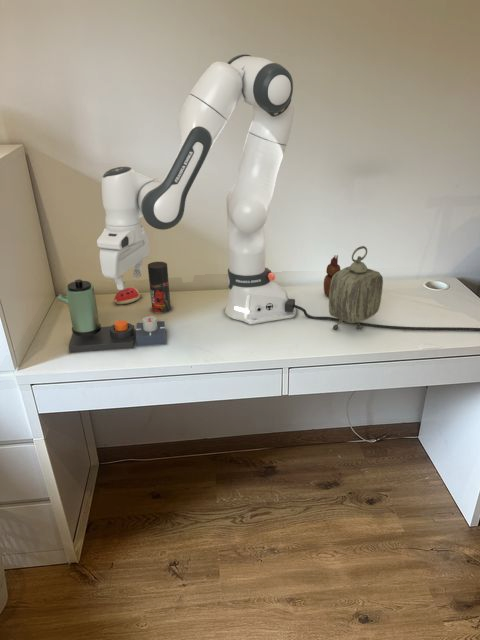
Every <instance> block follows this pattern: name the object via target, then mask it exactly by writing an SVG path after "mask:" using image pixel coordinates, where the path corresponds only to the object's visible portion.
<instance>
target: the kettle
mask: <svg viewBox="0 0 480 640" xmlns="http://www.w3.org/2000/svg"><path fill="white" fill-rule="evenodd" d="M65 294H66V296H64V295H62V294H60V293H59V294H58V296H57V298H56V300H58V301H60V302H61V303H64V304H65V305H68V310H69V316H70V320H71V321H70V322H71V332H72V334H74V335H77V336H90V335H94V334H96V333H98V332H99V331H100V330H101V327H102V325H101V323H100V319H99V313H98V307H97V301H96V293H95V288H94V284H93V283H92V282H90V281H88V280H82V279H75V280H74V281H72V282H70V283H68V284H67V285H66V286H65Z"/></svg>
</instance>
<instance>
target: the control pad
mask: <svg viewBox="0 0 480 640" xmlns="http://www.w3.org/2000/svg"><path fill="white" fill-rule="evenodd" d="M135 327H136V328H135V344H136V347H147V346H159V345H166V344H167V341H166V323H165V320H159V321H158V320H157V327H158V328H157V330H155V331H152V332H147V331H144V330H143V322H136V326H135Z"/></svg>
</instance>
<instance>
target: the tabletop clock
mask: <svg viewBox="0 0 480 640" xmlns="http://www.w3.org/2000/svg"><path fill="white" fill-rule="evenodd" d="M359 250H365V253H364V255H363V256H361V255H358V256H357V258H356V259H354V256H355V254H356V253H357V252H358V251H359ZM367 255H368V248H367V247H366V246H365V245H361V246H359V247H357V248H356V249H354V251H353V252H352V254H351V261H352V262H353V263H351V264H350V265H349V266H346V267H344V268H342V269H340V271H338V272H337V273H335V274H334V275H333V277H332V280H331V285H330V292H329V297H328V314H329V316H330V317H333V318H338V319H340V320H339V321H337V323H336V324H333V326H332V329H333V330H335V331H336V330H338V328H339V326H340V324H341V323H343V322H342V321H346V322H348V323H347V324H350V323H357V322H358V325H355V326H356V327H355V328H356V329H357V330H360V331H361V329H362V328H363V326H362V325H360V322H363V321H366V320H368V319H369V318H371V317H374V316H375V315H376V314H377V313H379V310H380V306H381V303H382V302H381V301H382V295H383V285H384V279H383V275H382V274H381V272H379V271H378V270H374V269H370V268H368V267H367V265H366V264H365V263H364V262H363V260H364V259H365V258H366V257H367Z"/></svg>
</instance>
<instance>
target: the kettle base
mask: <svg viewBox="0 0 480 640" xmlns="http://www.w3.org/2000/svg"><path fill="white" fill-rule="evenodd" d="M127 323H128V329H127V330H124V331H116V330H115V325H114V324H112V325H111V326H108V325H107V326H101V330H100V331H99V332H98V333H96V334H94V335H90V336H77V335H74V334H73V333H72V334H71V337H70V340H69V344H68V350H69V351H68V352H69V353H70V354H75V353H87V352H88V353H89V352H100V351H103V352H104V351H114V350H115V351H117V350H128V349H129V350H130V349H134V342H135V324H131V322H127Z"/></svg>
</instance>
